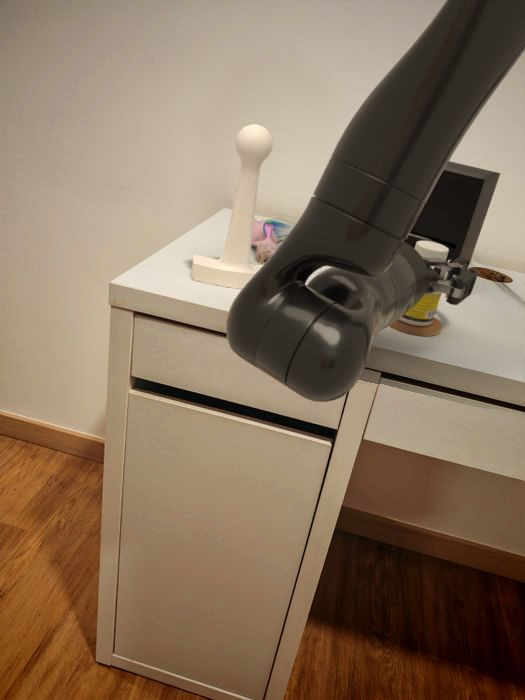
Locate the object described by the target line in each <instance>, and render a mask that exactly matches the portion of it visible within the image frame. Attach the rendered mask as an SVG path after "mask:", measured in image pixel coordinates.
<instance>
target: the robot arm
mask: <svg viewBox="0 0 525 700" xmlns="http://www.w3.org/2000/svg"><path fill="white" fill-rule="evenodd" d="M524 52H525V0H446V1H445V2H444V3H443V5H442V6H441V8H440V9H439V11H437V13H436V15H435V16H434V17H433V19H432V20H431V21H430V23H429V24H428V25H427V26H426V28H425V29H424V30H423V32H422V33H421V34H420V35H419V36H418V38H417V39H416V40H415V41H414V43H413V44H412V45H411V46H410V48H408V49H407V51H406V52H405V53H404V54H403V55H402V56H401V57H400V58H399V60H398V61H397V62H395V64H394V65H393V66H392V68H391V69H390V70H389V71H388V72H387V73H386V74H385V75H384V77H383V78H382V79H381V80H380V81H379V83H377V85H376V86H375V87H374V88H373V90H372V91H371V92H370V94H368V95H367V97H366V99H365V100H363V102H362V104H361V105H360V106H359V108H358V109H357V111H356V112H355V114H353V116H352V118H351V119H350V120H349V122H348V124H347V126H346V127H345V129H344V131H343V132H342V135H341V136H340V138H339V140H338V141H337V144H336V145H335V148H334V150H333V151H332V153H331V156H330V158H329V159H328V162H327V163H326V166H325V168H324V170H323V172H322V174H321V176H320V179H319V180H318V182H317V185H316V187H315V189H314V191H313V193H312V196H311V197H310V198H309V199H310V200H309V202H308V203H307V205H306V207H305V209H304V211H303V213H302V214H301V216H300V217H299V219H298V220H297V222H295V223H296V225H295V226H294V227H293V229H292V230H291V231H290V233H289V234H288V235H287V237H286V238H285V239H284V240H282V241H281V242H280V244H279V245H280V246H279V247H278V248H277V250H276V251H275V252H274V253H273V254H272V256H271V257H270V258H269V259H268V260H266V261H265V263H264V264H262V265H263V266H262V267H261V268H260V269H259V271H258V272H257V273H256V274H255V275H254V276H253V277H252V278H251V279H250V281H249V282H248V283H247V284H246V285H245V286H244V287H243V289H240V291H239V293H238V294H237V295H236V297H235V298H234V299H233V301H232V303H231V305H230V307H229V310H228V313H227V317H226V323H225V325H226V326H225V327H226V328H225V333H226V339H227V342H228V345H229V347H230V349H231V350H232V352H233V353H234V354H235V355H237V356H238V357H239V358H240V359H242V360H243V361H245V362H246V363H248V364H250V365H251V366H253V367H254V368H256V369H258V370H259V371H261V372H263V373H264V374H265V375H267V376H269V377H271V378H272V379H273V380H275V381H277V382H279V384H281V385H283V386H284V387H287V388H288V389H289V390H290V391H293V392H294V393H295V394H297V395H299V396H300V397H302V398H304V399H306V400H308V401H312V402H316V403H318V402H319V403H327V402H333V401H336V400H338V399H340V398H342V397H344V396H345V395H347V394H348V393H349V392H350V391H351V390H352V389H353V388H354V387H355V386H356V384H357V382H358V381H359V379H360V378H361V376H362V375H363V372H364V370H365V368H366V366H367V363H368V360H369V358H370V354H371V351H372V346H373V342H374V337H375V336H376V335H378V334H379V333H380V332H381V331H382V330H384V329H387V328H389V327H391V326H390V325H392V324H393V323H395V322H396V321H397V320H398V319H399V318H401V317H402V316H403V315H405V314H406V313H407V312H408V311H409V310H410V309H411V308H412V307H413V306H415V305H416V304H417V303H418V302H419V301H420V299H421V298H422V297H423V296H424V294H430V293H433V292H438V291H439V292H441V294H444V295H445V299H446V303H448V304H449V305H452V306H458V305H459V304H460V303H462V302H463V301H464V300H466V299H467V298H468V297H470V296H471V295H472V293H473V290H474V287H475V284H476V281H477V278H478V275H479V271H478V270H476V269H474V268H473V269H472V268H469V267H468V264H466V263H464V260H465V259H463V258H460V257H458V258H457V259H455V260H454V261H453V262H452V263H447V262H446V261H444V260H442V259H440V258H426V257H422V256H421V255H420V254H419V253H418V252H417V251H416V250H415V249H414V248H413V247H412V246H410V245H408V244H407V243H404V241H403V240H406V239H407V237H408V235H409V233H410V231H411V229H412V228H413V226H414V224H415V222H416V220H417V218H418V217H419V215H420V213H421V211H422V209H423V207H424V206H425V205H424V204H426V202H427V200H428V198H429V196H430V194H431V192H432V190H433V188H434V187H435V185H436V183H437V181H438V179H439V177H440V175H441V174H442V172H443V170H444V169H445V167H446V165H447V163H448V162H449V161H450V160H451V158H452V156H453V155H454V154H455V152H456V150H457V148H458V147H459V146H460V144H461V143H462V141H463V139H464V137H465V136H466V134H467V133H468V132H469V130H470V128H471V127H472V125H473V123H474V122H475V120H476V119H477V118H478V116H479V115H480V113H481V111H482V110H483V109H484V107H485V106H486V105H487V103H488V102H489V100H490V99H491V98H492V96H493V94H495V92H496V90H497V89H498V88H499V86H500V85H501V84H502V83H503V81H504V79H505V78H506V77H507V75H508V74H509V73H510V71H511V70H512V69H513V68H514V66H515V64H516V63H517V62H518V60H519V59H520V58H521V57H522V55H523V53H524ZM430 266H434V269H433V268H431V267H430ZM323 267H328V268H327V269H324V270H322V271H321V272H318V273H317V274H316V275H314V277H312V279H310V281H308V280H309V278H310V277H311V276H312V275H313V274H314V273H315V272H316V271H317V270H319V269H321V268H323ZM467 267H468V269H467ZM447 271H449V272H448V275H447V278H446V280H444V277H445V274H446V272H447ZM307 281H308V283H307ZM306 283H307V284H306Z"/></svg>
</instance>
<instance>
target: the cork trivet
mask: <svg viewBox="0 0 525 700" xmlns="http://www.w3.org/2000/svg"><path fill="white" fill-rule="evenodd" d="M389 327H390V328H392V329H394V330H397V331H399V332H402V333H404V334H409V335H413V336H419V337H433V336H437V335H439V334H440V333H441V331H442V329H443V324H442V322H441V321H440V320H439V319H438V318H437V317H435V316H434V319H433V321H432V323H431V324H430V325H427V326H414V325H410V324H406V323H403V322H401V321H399V320H397V321H396V322H395V323H393V324H392V325H390V326H389Z"/></svg>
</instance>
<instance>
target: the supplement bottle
mask: <svg viewBox="0 0 525 700" xmlns="http://www.w3.org/2000/svg"><path fill="white" fill-rule="evenodd" d="M415 250H416V251H417V252H418V253H419V254H420V255H421V256H422V257H426V258H440V259H442V260H444V261H446V258H447V255H448V252H449V249H448V248H447V247H445V246H443V245H441V244H438V243H435V242H430V241H418V242H417V243H416V246H415ZM430 267H431V268H433V269H434V266H430ZM447 274H448V271H447V272H446V274H445V277H444V280H446V278H447ZM441 296H442V293H441V292H439V291H438V292H433V293H430V294H424V296H423V297H422V298H421V299H420V301H419V302H418V303H417V304H416V305H415V306H413V307H412V308H411V309H410V310H409V311H408V312H407V313H406V314H405V315H403V316H402V317H401V318H399V319H398V320H399V321H401V322H403V323H406V324H410V325H414V326H427V325H430V324H431V323H432V321H433V319H434V317H435V316H436V313H437V309H438V306H439V303H440V300H441Z"/></svg>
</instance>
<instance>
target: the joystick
mask: <svg viewBox="0 0 525 700" xmlns="http://www.w3.org/2000/svg"><path fill="white" fill-rule="evenodd" d="M273 145H274V144H273V138H272V135H271V133H270V132H269V130H268V129H267V128H265V127H264V126H262V125H261V124H256V123H252V124H248V125H245V126H243V127H242V128H241V129H240V130H239V131H238V133H237V136H236V138H235V149H236V152H237V154H238V156H239V158H240V163H241V164H240V171H239V176H238V181H237V186H236V190H235V196H234V199H233V200H234V201H233V206H232V210H231V215H230V221H229V225H228V231H227V236H226V241H225V245H224V251H223V253H221V254H220V255H219V258H212V257H206V256H203V255H200V254H198V255H197V254H195V255H193V258H192V266H191V275H190V276H191V277H190V279H191V280H192V281H195V282H200V283H203V284H207V285H211V286H212V285H213V286H218V287H225V288H231V289H239V290H242V289H243V287H244V286H245V285H246V284H247V283H248V282H249V281H250V279H251V278H252V277H253V276H254V275H255V274H256V273H257V272H258V271H259V269H260V268H261V267H262V266H263V265H264V264H261V265H260V264H254V263H251V251H252V245H251V244H252V234H253V225H254V219H255V215H256V205H257V197H258V186H259V177H260V169H261V166H262V164H263V163H264V162H265V161H266V160H267V159H268V157H270V155H271V153H272V150H273Z"/></svg>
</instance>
